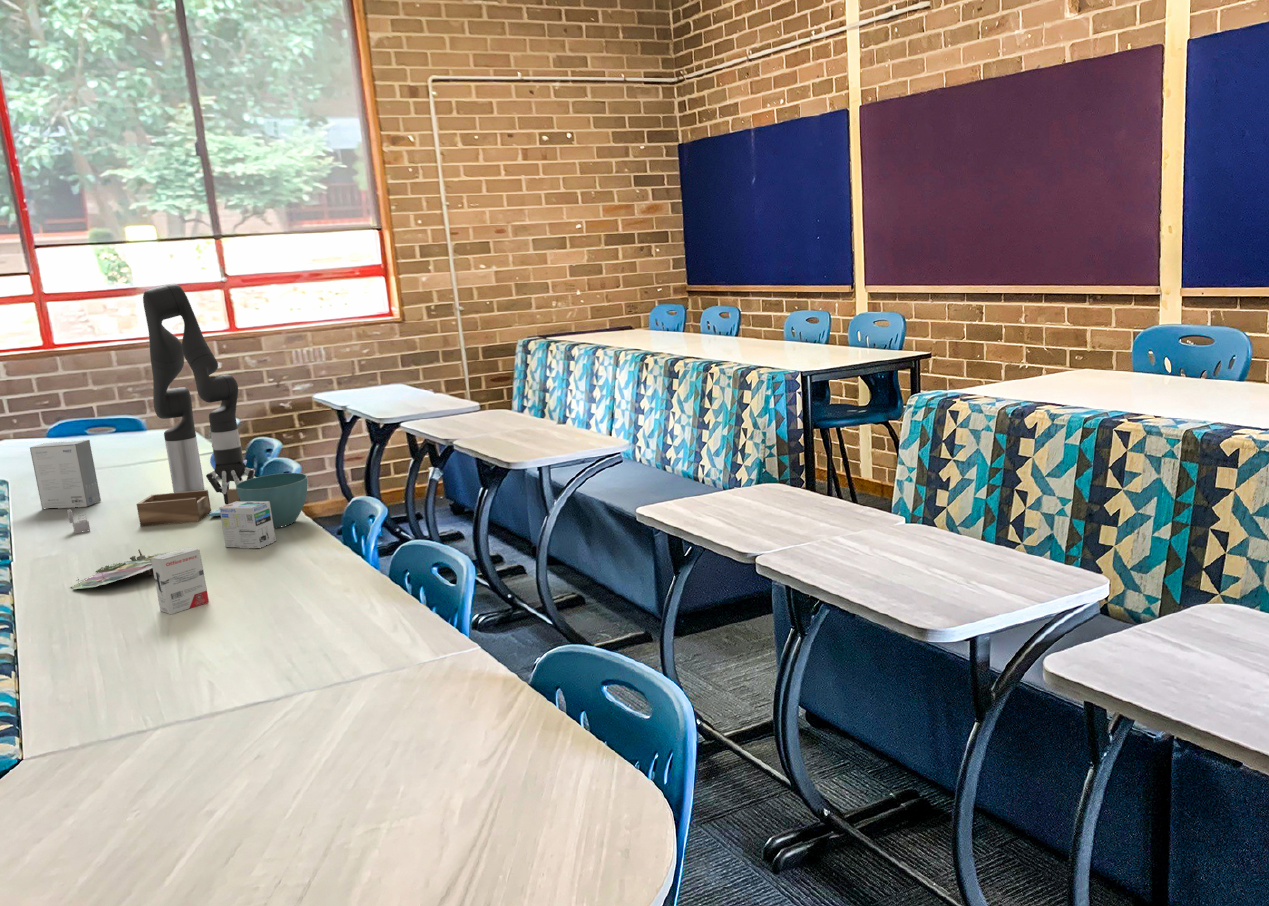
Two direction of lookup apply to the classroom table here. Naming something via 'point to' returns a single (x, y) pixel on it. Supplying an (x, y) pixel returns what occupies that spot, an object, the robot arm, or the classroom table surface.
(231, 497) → the lid
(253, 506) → the light bulb box
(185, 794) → the classroom table surface
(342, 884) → the classroom table surface
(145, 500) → the brown wooden shelf box
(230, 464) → the robot arm
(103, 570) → the city model
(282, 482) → the plant pot
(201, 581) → the ink box
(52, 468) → the hard drive box
